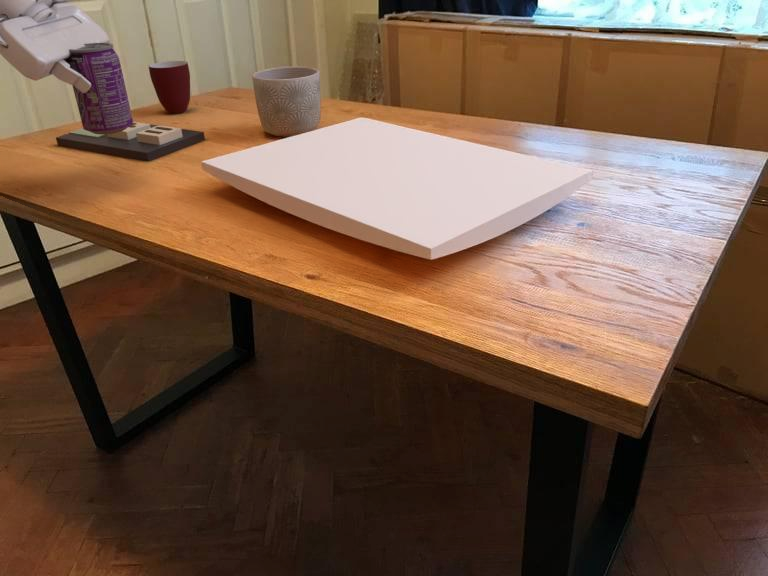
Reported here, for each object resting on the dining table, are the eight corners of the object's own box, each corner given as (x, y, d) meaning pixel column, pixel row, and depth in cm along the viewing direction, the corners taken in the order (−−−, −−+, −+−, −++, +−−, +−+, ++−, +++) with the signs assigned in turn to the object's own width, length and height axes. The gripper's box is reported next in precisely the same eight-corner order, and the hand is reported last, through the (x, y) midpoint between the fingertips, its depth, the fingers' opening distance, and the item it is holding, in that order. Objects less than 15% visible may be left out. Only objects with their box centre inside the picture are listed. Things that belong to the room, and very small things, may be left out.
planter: (272, 122, 133) (266, 66, 128) (331, 123, 131) (327, 66, 126) (249, 139, 123) (241, 79, 117) (313, 141, 120) (307, 80, 115)
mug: (161, 106, 149) (152, 60, 144) (198, 103, 150) (190, 57, 145) (155, 117, 140) (145, 69, 135) (194, 114, 141) (186, 66, 136)
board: (589, 203, 90) (593, 170, 87) (431, 288, 70) (431, 248, 68) (363, 143, 118) (361, 117, 116) (206, 191, 99) (201, 161, 96)
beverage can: (92, 124, 102) (72, 43, 96) (139, 122, 103) (121, 41, 97) (78, 137, 96) (55, 51, 90) (127, 135, 97) (108, 49, 91)
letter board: (57, 145, 124) (52, 128, 122) (117, 126, 134) (113, 110, 133) (148, 161, 113) (144, 142, 112) (205, 139, 124) (202, 122, 122)
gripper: (-16, 2, 82) (79, 82, 86) (67, -13, 100) (142, 53, 104) (-38, 41, 85) (55, 116, 89) (47, 19, 102) (121, 83, 106)
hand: (103, 82), depth 96 cm, fingers closed on beverage can, 6 cm apart
